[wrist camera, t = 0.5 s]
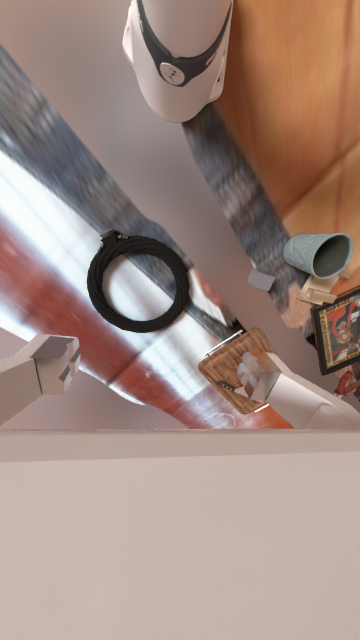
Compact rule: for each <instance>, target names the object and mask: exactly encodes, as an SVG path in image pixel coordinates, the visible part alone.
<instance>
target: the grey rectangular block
mask: <svg viewBox="0 0 360 640" xmlns="http://www.w3.org/2000/svg"><path fill="white" fill-rule="evenodd" d="M274 279H275V277H274V276H272V275H270V274H268V273H265V272H263V271H259V270H255V269H252V271H251V273H250V275H249V278H248V280H247V282H248V283H249V284H251V285H252V286H254V287H255V288H258V289H262V290H266V291H269V290H270V288H271V286H272V284H273V281H274Z"/></svg>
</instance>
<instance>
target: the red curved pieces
mask: <svg viewBox="0 0 360 640" xmlns="http://www.w3.org/2000/svg"><path fill="white" fill-rule="evenodd" d="M352 375H353V374H352V372H350V371H347V372H346V373H345V374H344V375H343V376H342V377H341V379H340V381H339V384H338V387H337V389H336V390H334V392H335V394H334V396H335V397H337V398H339V399H340V398H341V397H342V395H344V396H347V395H346V394H347V393H349V392H351V391H352V390H354V389H356V388H357V387H359V386H360V379H359V380H357V381H356V382H355V383H353V384H351V385H350V386H348V387H346V388H345V385H346V383H347V381H348V380H349V379H350V378H351V377H352ZM344 388H345V389H344Z"/></svg>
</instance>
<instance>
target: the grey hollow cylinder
mask: <svg viewBox="0 0 360 640" xmlns="http://www.w3.org/2000/svg"><path fill="white" fill-rule="evenodd" d="M352 254H353V241H352V239H351V237H350V236H349V235H347V234H345V233H329V234H327V233H323V234H321V233H320V234H298V235H295V236H293V237H292V238H291V239H290V240H289V241H288V242H287V243H286V245H285V247H284V251H283V257H284V260H285V262H286V263H287V264H289V265H291V266H293V267H296V268H298V269H300V270H302V271H305V272H307V273H309V274H311V275H313V276H315V277H317V278H319V279H328V278H331V277H333V276H335V275H337V274H338V273H340V272H341V271H342V270H343V269H344V268H345V267H346V266H347V264H348V263H349V261H350V259H351V257H352Z"/></svg>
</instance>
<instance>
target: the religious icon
mask: <svg viewBox="0 0 360 640" xmlns="http://www.w3.org/2000/svg"><path fill="white" fill-rule="evenodd" d="M310 311H311V316H312V322H313V328H314V334H315V341H316V345H317V353H318V359H319V366H320V372H321V374H322V375H327V374H329V373H332V372H334V371H337V370H339V369H341V368H344V367H346V366H349V365H351V364H353V363H356V362H358V361H360V285H359V286H357V287H355V288H353V289H351V290H348V291H346V292H344V293H342V294H340V295H338V296H337V298H336V299H335V301H334V302H333V304H332V303H328V302H323V303H322V305H316V306H314V307H312V308H311V309H310Z"/></svg>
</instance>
